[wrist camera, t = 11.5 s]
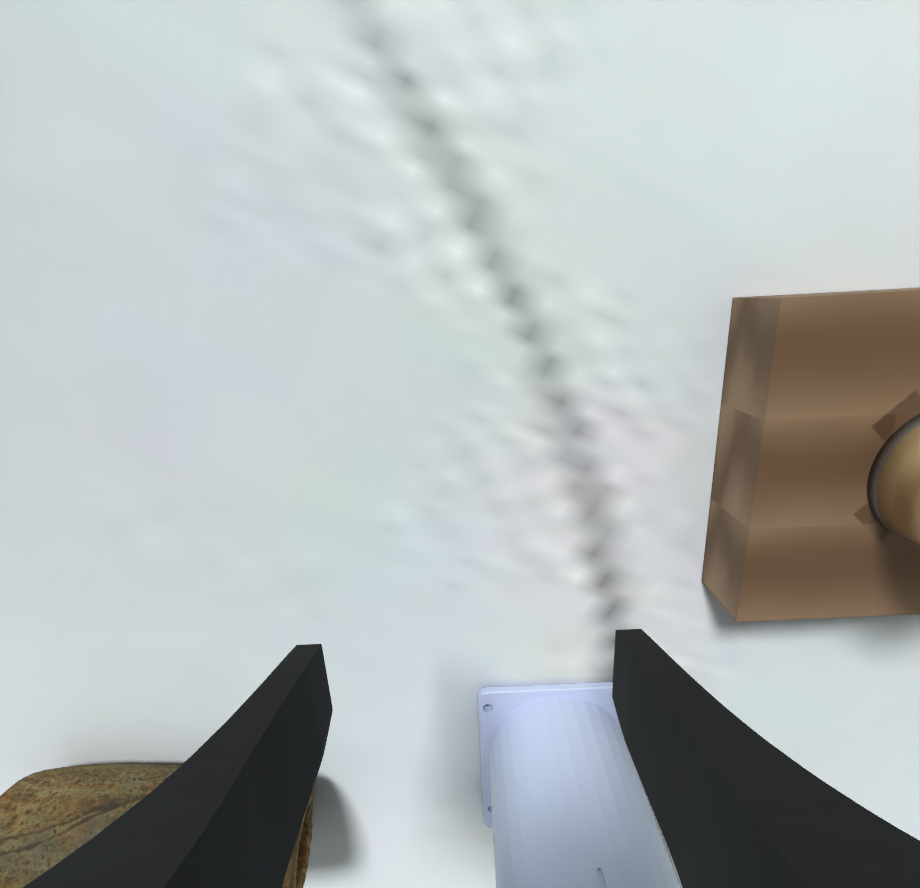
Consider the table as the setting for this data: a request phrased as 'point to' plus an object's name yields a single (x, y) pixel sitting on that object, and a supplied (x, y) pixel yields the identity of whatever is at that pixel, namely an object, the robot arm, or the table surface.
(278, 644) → the table surface
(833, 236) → the table surface
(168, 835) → the robot arm
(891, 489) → the peg
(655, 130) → the table surface
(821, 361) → the board
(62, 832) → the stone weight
